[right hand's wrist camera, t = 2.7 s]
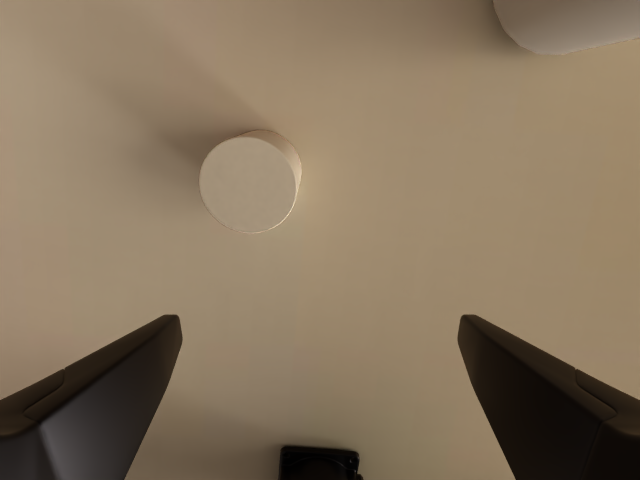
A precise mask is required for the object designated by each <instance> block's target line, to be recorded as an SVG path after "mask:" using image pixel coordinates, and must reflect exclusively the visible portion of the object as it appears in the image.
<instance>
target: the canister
mask: <svg viewBox="0 0 640 480" xmlns="http://www.w3.org/2000/svg"><path fill="white" fill-rule="evenodd" d="M301 174H302V170H301V162H300V159H299V156H298V154H297V152H296V150H295V149H294V147H293V146H292V145H291V144H290V143H289V142H288V141H287V140H286V139H285V138H283V137H282V136H280V135H278V134H276V133H274V132H270V131H265V130H255V131H250V132H247V133H244V134H241V135H239V136H236V137H233V138H230V139H227V140H225V141H223V142H221V143H220V144H218V145H217V146H215V147H214V148H213V149H212V150H211V151H210V152H209V153H208V155H207V156H206V158H205V159H204V161H203V164H202V166H201V169H200V174H199V189H200V194H201V198H202V200H203V202H204V204H205V206H206V208H207V210H208V211H209V212H210V214H211V215H212V216H213V217H214V218H215V219H216V220H217V221H218V222H220V223H221V224H223V225H224V226H226V227H228V228H230V229H232V230H235V231H238V232H242V233H260V232H264V231H267V230H270V229H272V228H274V227H276V226H277V225H279V224H280V223H281V222H282V221H283V220H284V219H285V218H286V217H287V216H288V215H289V213H290V212H291V210H292V208H293V206H294V203H295V200H296V196H297V192H298V188H299V185H300V180H301Z"/></svg>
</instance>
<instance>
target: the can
mask: <svg viewBox="0 0 640 480" xmlns="http://www.w3.org/2000/svg"><path fill="white" fill-rule="evenodd" d="M493 4H494V9H495V12H496V14H497V16H498V18H499V21H500V23H501V25H502V27H503V30H504V31H505V32H506V33H507V34H508V35H509V36H510V37H511V38H512V39H513V40H514V41H515V42H516V43H517V44H518V45H519V46H521V47H523V48H525V49H528V50H530V51H532V52H535V53H537V54H547V55H563V54H567V53H572V52H577V51H581V50H586V49H591V48H595V47H600V46H605V45H609V44H614V43H619V42H623V41H628V40H633V39H637V38H640V0H493Z"/></svg>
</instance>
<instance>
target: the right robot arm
mask: <svg viewBox="0 0 640 480" xmlns="http://www.w3.org/2000/svg"><path fill="white" fill-rule="evenodd" d="M181 345H182V331H181V325H180V319H179V317H178V316H177V315H163V316H161V317H159V318H158V319H156V320H154V321H152V322H150V323H148V324H146V325H144V326H142V327H141V328H139V329H137V330H135V331H133V332H131V333H129V334H127V335H126V336H124V337H122V338H120V339H118V340H116V341H114V342H112V343H111V344H109V345H107V346H105V347H103V348H101V349H99V350H97V351H96V352H94V353H92V354H90V355H88V356H86V357H84V358H82V359H80V360H79V361H77V362H75V363H73V364H71V365H69V366H67V367H66V368H65V370H64V369H62V370H60V371H58V372H56V373H54V374H52V375H50V376H48V377H46V378H45V379H43V380H41V381H39V382H37V383H35V384H33V385H31V386H29V387H27V388H25V389H23V390H21V391H18V392H16V393H14V394H12V395H10V396H8V397H6V398H4V399H2V400H0V480H124V479H125V477H126V475H127V472H128V470H129V468H130V466H131V464H132V462H133V460H134V457H135V455H136V453H137V451H138V449H139V447H140V445H141V442H142V440H143V438H144V436H145V434H146V432H147V430H148V427H149V425H150V423H151V421H152V419H153V417H154V415H155V412H156V410H157V408H158V406H159V404H160V402H161V400H162V397H163V395H164V393H165V391H166V388H167V386H168V383H169V381H170V378H171V375H172V372H173V369H174V366H175V363H176V360H177V357H178V354H179V351H180V348H181ZM458 345H459V348H460V351H461V354H462V357H463V360H464V363H465V366H466V369H467V372H468V375H469V378H470V381H471V384H472V386H473V389H474V391H475V393H476V395H477V397H478V400H479V402H480V404H481V406H482V408H483V410H484V412H485V415H486V417H487V419H488V421H489V423H490V425H491V427H492V430H493V432H494V434H495V436H496V438H497V440H498V442H499V445H500V447H501V449H502V451H503V453H504V455H505V457H506V460H507V462H508V464H509V466H510V468H511V470H512V472H513V475H514V477H515V479H516V480H640V400H638V399H636V398H634V397H632V396H630V395H628V394H626V393H624V392H622V391H619V390H617V389H615V388H613V387H611V386H609V385H607V384H605V383H603V382H601V381H599V380H597V379H595V378H594V377H592V376H590V375H588V374H586V373H584V372H582V371H580V370H578V369H576V370H575V368H574V367H573V366H571V365H569V364H567V363H565V362H563V361H561V360H560V359H558V358H556V357H554V356H552V355H550V354H548V353H546V352H544V351H543V350H541V349H539V348H537V347H535V346H533V345H531V344H529V343H528V342H526V341H524V340H522V339H520V338H518V337H516V336H514V335H513V334H511V333H509V332H507V331H505V330H503V329H501V328H499V327H498V326H496V325H494V324H492V323H490V322H488V321H486V320H484V319H482V318H481V317H479V316H477V315H462V317H461V319H460V325H459V331H458ZM358 465H359V454H358V453H357V452H355V451H342V450H328V449H314V448H299V447H283V448H282V449H281V453H280V465H279V478H278V480H363V477H362V476H361V474H357V471H358Z"/></svg>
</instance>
